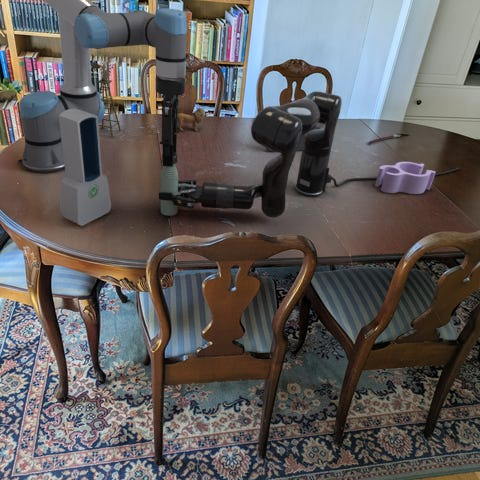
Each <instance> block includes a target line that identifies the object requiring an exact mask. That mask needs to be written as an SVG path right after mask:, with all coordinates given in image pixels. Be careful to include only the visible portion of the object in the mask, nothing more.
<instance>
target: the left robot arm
mask: <svg viewBox="0 0 480 480" xmlns="http://www.w3.org/2000/svg"><path fill="white" fill-rule="evenodd" d="M42 1H43V2H44V3H46V4H47V5H48V6H49V7H50V8H51V9H53V11H55V12H56V13H57V15H58V16H57V18H58V26H59V27H58V28H59V38H60V40H59V41H60V51H61V61H62V71H63V73H62V74H63V83H62V84H61V85H60V86H59V94H57V93H56V92H54V91H51V90H44V91H42V90H37V91H33V92H30V93H27V94H25V95H24V96H22V97H21V98H20V100H19V103H18V104H19V116H20V119H21V125H22V132H23V137H24V148H23V153H22V158H21V159H18V160H17V162H18V163H19V164H20V163H22V166H23V168H24V169H25V170H27V171H29V172H33V173H39V174H46V173H56V172H61V171H63V170H65V164H64V156H63V147H62V139H61V131H60V123H59V115H60V114H61V113H62V112H64V111H66V110H69V109H79V110H82V111H85V112H88V113H91V114H94V115H96V116H98V125H100V123H102V119H103V117H105V114H104V112H105V111H106V109H105V107H106V106H105V102H103V101H102V100H103V95H102V93H101V94H100V93H99V92H100V91H98V90H97V87H96V86H95V85H94V84H93V83H92V67H91V66H92V64H91V49H94V50H101V49H107V48H119V47H132V46H134V47H135V46H149V47H152V48H155V49H154V50H155V51H154V52H155V61H153V64H152V65H153V66H155V75H156V76H155V92H156V93H158V94H159V95H163V99H162V100H161V108H160V110H161V141H159V145H162V153H163V162H162V167H163V166H168V167H173V151H174V152H176V153H177V137H178V135H177V134H180V129H178V128H179V123H178V114H179V113H178V111H179V100H180V99H179V96H181V95H184V94H185V93H186V78H185V77H186V74H187V60H186V59H187V58H186V57H187V34H188V27H187V26H188V24H187V23H188V21H187V14H186V12H185V11H184V10H180V9H175V8H168V7H167V8H165V7H163V8H158V9H156V10H155V11H154V12H155V13H151V12H148V11H146V10H144V9H141V10H140V9H132V10H130V11H128V12H106V11H104V10H103V9H102V8H100V7H99V6H97V4H95V3H94V2H92V1H93V0H42Z"/></svg>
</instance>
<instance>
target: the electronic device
mask: <svg viewBox="0 0 480 480" xmlns="http://www.w3.org/2000/svg"><path fill="white" fill-rule="evenodd" d="M59 123H60V131H61V139H62V147H63V156H64V164H65V169H64V171H65V176H64V178H62V180H61V184H60V185H61V187H60V205H59V210H60V213H61V215H62V217H63V218H65V219H66V220H69V221H70V222H72V223H74V224H76V225H78V226H81V227H83V226H85V225H86V224H87V225H88V224H90V223H91V222H92V221H95V220H97V219H98V218H101V217H103V216H104V215H106V214H108V213H110V211H111V210H112V201H111V195H110V188H109V182H108V176H107V175H105V174H104V173H103V167H102V156H101V142H100V126H98V125H99V124H98V116H96V115H94V114H91V113H88V112H85V111H82V110H79V109H69V110H66V111H64V112H62V113H61V114H60V115H59Z"/></svg>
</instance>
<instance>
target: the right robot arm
mask: <svg viewBox="0 0 480 480" xmlns="http://www.w3.org/2000/svg"><path fill="white" fill-rule="evenodd" d="M342 102H343V100H342V97H341V96H340V95H337V94H334V93H333V94H332V93H328V92H324V91H318V90H317V91H311V92H310V93H308V94H307V95H306V96H304V97H302V98H299V99H297V100H293V101H291V102H288V103H284V104H282V105H269V106H266V107H264V108H262V109H261V110H260V111H259V112H258V113H257V114H256V116H255V117H254V119H253V121H252V124H251V129H250V133H251V137H252V139H253V141H254V142H255V143H257V144H258V145H260V146H262V147H264V148H266V147H267V148H269V149H271V150H273V151H272V152H276V153H279V155H277V156H276V157H273V158H271V160H269V161H268V162H267V163H265V165H264V167H263V171H262V174H261V175H262V176H261V180H262V181H261V183H257V184H251V185H242V184H232V183H227V182H226V183H225V182H212V181H203V182H202V185H198V184H197V180H196V179H186V180H181V179H180V180H178V193H168V192H161V191H158V200H160V201H161V200H169V201H172V202H173V203H174V205H175V206H178V207H181V208H186V209H190V210H191V209H192V210H193V209H194V207H195V204H201V205H200V206H201V208H208V209H220V210H221V209H222V210H228V209H234V210H251V209H252V207H253V205H254V201H255V199H259V198H261V199H260V200H261V202H260V203H261V205H260V207H261V211H262V213H263V214H264V216H266V217H268V218H271V219H274V218H279V217H281V216H282V215H283V214H284V212H285V211H286V193H287V187H288V182H289V181H288V180H289V173H290V170H291V167H292V165H293V162H294V158H295V156H296V153H297V151H298V150H297V147H298V144H299V141H300V138H301V135H303V134H305V137H304V143H303V149H302V150H301V156H300V161H299V167H298V171H297V179H296V183H295V188H294V189H295V191H296V192H297V193H299V194H301V195H303V196H307V197H318V196H321V195H322V194H323V193H325V191H326V188H327V184H330V183H332V181H333V184H334V186H335V187H341V186H344V185H345V184H346V183H348V182H352V181H374V180H375V181H376V180H377V177H378V176H377V177H352V178H348V179H345V180H343V181H342V182H341V183H337V180H336V179H335V177H334V176H332V175H331V174H329V173H330V166H329V162H330V156H331V152H332V148H333V143H334V138H335V134H336V129H337V125H338V121H339V118H340V114H341V110H342V105H343V103H342ZM318 124H321V125H324V127H321V129H317V130H312V129H314V128H315V127H316V126H317V125H318ZM460 169H461V167H456V169H455V168H453V169H449V170H446V171H441V172H437V173H435V176H434V177H436V176H442V175H445V174H449V173H452V172H455V171H458V170H460Z"/></svg>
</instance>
